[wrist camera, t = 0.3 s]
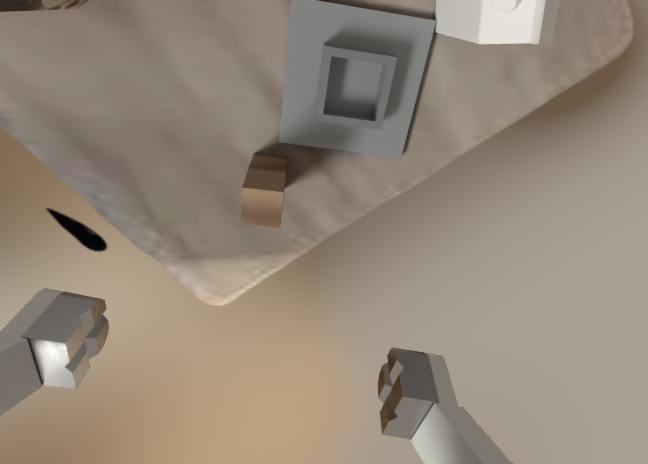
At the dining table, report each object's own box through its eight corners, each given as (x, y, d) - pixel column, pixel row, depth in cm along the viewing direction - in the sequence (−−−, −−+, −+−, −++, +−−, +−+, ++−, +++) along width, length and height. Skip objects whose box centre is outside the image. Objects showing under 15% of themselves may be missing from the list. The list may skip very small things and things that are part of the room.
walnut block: (253, 153, 57) (242, 187, 47) (287, 157, 58) (283, 192, 48) (251, 184, 60) (240, 223, 50) (284, 188, 60) (280, 227, 50)
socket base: (291, -4, 47) (290, -4, 44) (434, 20, 49) (443, 21, 46) (278, 140, 56) (277, 149, 53) (399, 155, 58) (405, 165, 55)
